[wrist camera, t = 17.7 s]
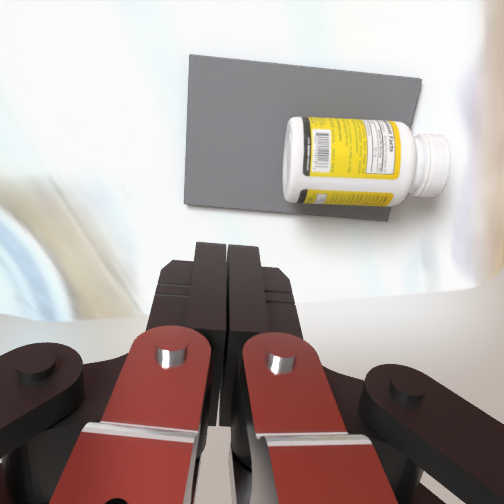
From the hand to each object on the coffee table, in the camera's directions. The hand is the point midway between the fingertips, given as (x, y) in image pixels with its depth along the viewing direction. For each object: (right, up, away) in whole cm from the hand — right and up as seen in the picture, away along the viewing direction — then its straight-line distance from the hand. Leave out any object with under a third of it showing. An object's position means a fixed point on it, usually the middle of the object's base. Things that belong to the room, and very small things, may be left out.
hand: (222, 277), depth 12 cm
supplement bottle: (+3, +7, +19) cm, 20 cm away
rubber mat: (+4, +8, +21) cm, 23 cm away
